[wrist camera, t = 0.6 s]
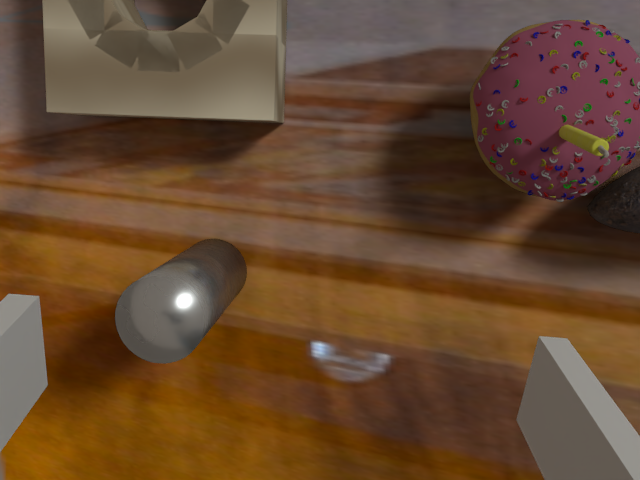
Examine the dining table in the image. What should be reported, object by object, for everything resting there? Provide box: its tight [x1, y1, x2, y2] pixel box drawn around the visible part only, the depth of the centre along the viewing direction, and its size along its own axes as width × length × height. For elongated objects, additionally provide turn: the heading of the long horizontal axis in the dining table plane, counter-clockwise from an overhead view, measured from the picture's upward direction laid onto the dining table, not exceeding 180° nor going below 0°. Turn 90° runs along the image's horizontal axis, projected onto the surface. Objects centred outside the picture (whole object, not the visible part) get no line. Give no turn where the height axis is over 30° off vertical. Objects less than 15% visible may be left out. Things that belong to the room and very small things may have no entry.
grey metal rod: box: [115, 239, 247, 363], centre depth 31 cm, size 4×4×10 cm
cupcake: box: [470, 20, 640, 202], centre depth 27 cm, size 9×8×12 cm
